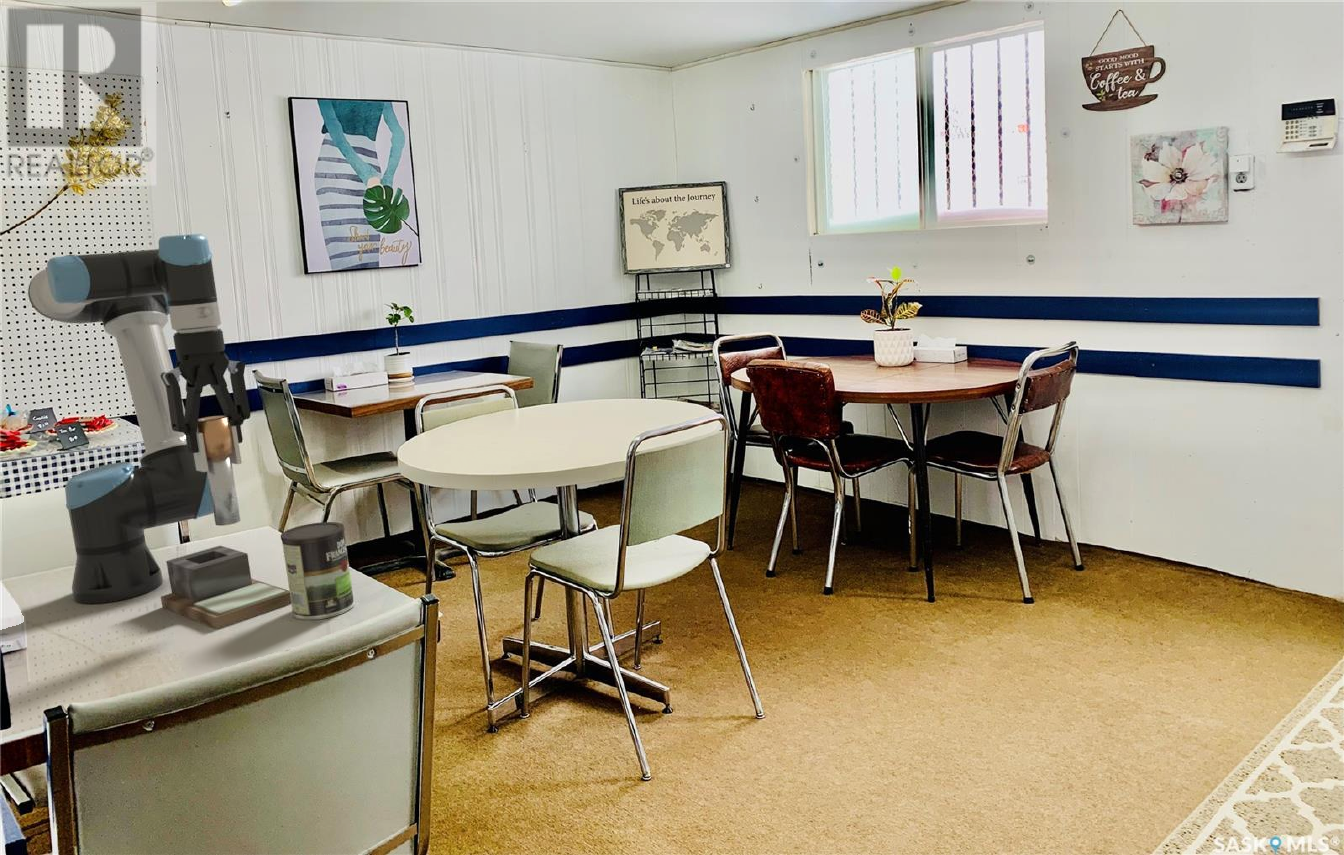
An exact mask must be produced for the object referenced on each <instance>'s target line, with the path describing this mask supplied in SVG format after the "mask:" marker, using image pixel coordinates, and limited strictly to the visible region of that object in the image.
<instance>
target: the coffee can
mask: <svg viewBox="0 0 1344 855" xmlns="http://www.w3.org/2000/svg"><path fill="white" fill-rule="evenodd" d="M345 530H346V529H345V525H344V524H343V523H340V522H334V521H333V522H331V521H325V522H314V523H308V524H302V525H298V526H295V527H291V528H290V529H287V530H285V531H284V532H283V531H282V533H281V534H280V540H281V543H282V549H283V557H284V562H285V568H286V575H287V582H288V588H289V589H288V591H290V597H291V608H292V616H293V618H295V619H298V620H303V621H311V620H313V621H314V620H315V621H316V620H323V619H328V618H329V619H330V618H333V617H337V616H340V615H342V614H344V613H347V612H349V611H350V610H352V608H353V607H355V599H354V594H353V587H352V585H353V584H352V579H351V572H350V571H351V570H350V564H349V557H348V550H347V549H348V548H347V542H346V533H345Z"/></svg>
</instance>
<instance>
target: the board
mask: <svg viewBox="0 0 1344 855" xmlns="http://www.w3.org/2000/svg"><path fill="white" fill-rule="evenodd" d="M248 555H249V554H248V553H247V552H244V551H241V550H237V549H233V548H230V547H226V546H223V545H217V546H214V547H210V548H206V549H203V550H200V551H197V552H193V553H189V554H186V555H183V556H180V557H175V558H172V559H169V560H166V561H165V562H166V567H167V574H168V579H169V584H170V585H169V586H170V592H171V593H168V594H165V595H162V596H160V601H161V607H162V608H164V609H165V610H169V611H171V612H174V613H176V614H179V615H182V616H183V617H186V618H189V619H191V620H194V621H195V622H199V623H202V624H203V625H206V626H209V627H211V628H213V629H216V630H218V629H221V628H225V627H228V626H231V625H232V624H236V623H238V622H242V621H243V620H247V619H251V618H253V617H257V616H258V615H262V614H264V613H268V612H270V611H273V610H276V609H279V608H281V607H284V606H287V605H292V603H291V597H290V590H289V589H284V588H282V587H279V586H276V585H274V584H273V585H272V584H270V583H266V582H263V581H261V580H257V579H255V578H254V579H253V578H252V575H251V567H250V561H249V556H248Z"/></svg>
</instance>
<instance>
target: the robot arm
mask: <svg viewBox="0 0 1344 855" xmlns="http://www.w3.org/2000/svg"><path fill="white" fill-rule="evenodd" d="M210 249H211V248H210V246H209V240H208V238H207V236H206V235H204V234H202V233H195V234H194V233H193V234H181V235H179V234H176V235H169V236H168V235H167V236H162V237H160V238H159V240H158V248H157V249H144V250H132V251H131V250H130V251H119V252H109V253H108V252H107V253H105V252H104V253H92V254H78V255H75V254H68V255H67V254H66V255H64V256H57V257H55V256H54V257H52V258H50V259H49V260H48V261H47V263H46V268H45V269H43V270H40V271H39V272H38V273H36V274H35V275H34V276H33V278H31V280H30V282H29V285H28V290H27V296H28V300H29V303H30V304H31V306H32V308H33V309H34V311H36V312H37V313H38V314H40V315H41V316H43V317H45V318H48V319H49V320H52V321H55V322H61V323H64V324H65V323H66V324H68V323H69V324H78V325H79V324H92V323H94V324H95V323H102V325H103V328H104V332H105V333H107V334H108V335H110V336H112V337H114V338H115V339H116V344H117V347H118V350H119V354H120V358H121V362H122V365H123V370H124V373H125V374H124V375H125V376H126V380H127V384H128V388H129V392H130V396H131V398H132V400H131V401H132V403H133V407H134V411H135V415H136V417H137V422H138V425H139V429H140V433H141V436H142V437H141V438H142V441H143V444H144V448H145V450H144V453H143V454H142V455H141V457H140V458H139V463H140V465H141V467H137V468H136V467H134V465H133V464H132V463H130V462H127V461H120V462H116V463H115V462H114V463H109V464H104V465H100V466H97V467H93V468H91V469H87V470H84V471H83V472H79V473H78V474H76V475H74V476H72V477H70V479H69V480H67V482H66V484H65V487H64V492H65V493H64V494H65V499H66V500H65V501H66V504H65V506H66V510H68V515H69V521H70V526H71V531H72V538H73V542H74V548H75V554H76V562H75V567H74V572H73V579H72V583H71V584H72V585H71V591H72V596H73V600H74V601H75V602H77V603H80V604H82V603H83V604H104V603H111V602H116V601H121V600H126V599H130V598H131V599H132V598H134V597H137V596H141V595H143V594H146V593H149V592H151V591H153V590H155V589H157V588H158V587H159V586H161V585H162V583H163V580H164V579H163V575H162V570H161V568H160V566H159V564H158V562H157V561H156V559H155V557H154V555H153V553H152V552H151V551H150V548H149V547H148V545H147V543H146V537H145V530H146V529H152V528H156V527H160V526H165V525H166V526H167V525H170V524H171V525H172V524H175V523H179V522H185V521H188V520H198V518H202V517H205V516H209V515H212V514H213V515H214V512H213V506H212V500H211V494H210V487H209V481H208V475H207V471H208V465H207V459H206V453H205V446H204V440H203V434H202V433H200V432H197V427H198V419H199V416H200V405H201V404H200V403H201V394H202V393H203V389H204V387H206V386H208V385H209V386H210V388H212V389H213V391H214V394H215V397H216V398H217V400H218V403H219V405H220V407H221V409H222V413H223V414H224V416H228V419H229V425H230V431H231V438H232V444H233V451H234V452H233V453H230V456H231V462H232V465H233V464H235V465H240V464H243V463H242V457H241V450H240V444H241V443H243V440H244V439H243V434H242V425H243V424H244V423H245V422H244V421H245V420H249V419H251V410H250V409H251V408H250V404H249V399H248V392H247V387H246V382H245V381H246V380H245V376H244V375H245V369H246V363H245V362H244V361H238V360H237V361H236V360H230V359H229V357H228V356H227V354H226V351H225V350H226V345H225V339H224V331H223V330H222V329H221V328H219V326H220V325H222V322H221V314H220V307H219V301H218V295H217V288H216V287H217V286H216V282H215V276H214V268H213V260H212V259H213V258H212V257H213V254H212V252H211V250H210ZM168 315H169V317H168ZM169 318H170V325H171V326H170V327H171V329H172V330H174V331H176V332H174V335H172V337H173V342H174V344H173V345H174V348H175V349H174V350H175V354H176V357H177V361H176V364H175V368H174V365H173V362H172V359H171V358H172V357H171V355H170V351H169V349H168V345H167V340H166V337H165V332H164V330H163V328H165V326H166V325H167V324H168V323H169V322H168V321H169ZM227 371H228V373H229V378H230V384H231V390H232V396H233V399H232V396H231V394H230V392H229V388H228V384H227V380H226V379H225V376H224V375H225V373H226V372H227ZM180 377H182V378H183V379H184V380H185V381H186V382H185V391H186V397H185V405H184V401H183V399H182V398H183V397H182V390H181V386H180V384H179V383H180V381H181V378H180ZM233 400H234V401H233Z"/></svg>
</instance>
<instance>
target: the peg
mask: <svg viewBox="0 0 1344 855" xmlns="http://www.w3.org/2000/svg"><path fill="white" fill-rule="evenodd" d="M197 432H200V433H202V434H203V440H204V446H205V453H206V459H207V465H208V471H207V475H208V481H209V487H210V494H211V500H212V506H213V512H214V513H213V516H214V524H215V525H216V526H221V527H222V526H229V525H235V524H237V523H239V522H241V514H240V508H239V507H240V506H239V502H238V496H237V490H236V488H237V487H236V482H235V477H234V476H235V475H234V470H233V463H232V462H231V456H230V453H233V452H234V451H233V444H232V438H231V431H230V424H229V419H228V416H225V415H213V416H205V417H202V418H198V427H197Z"/></svg>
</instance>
